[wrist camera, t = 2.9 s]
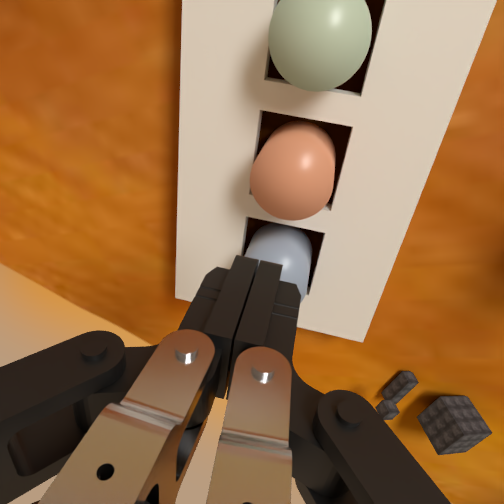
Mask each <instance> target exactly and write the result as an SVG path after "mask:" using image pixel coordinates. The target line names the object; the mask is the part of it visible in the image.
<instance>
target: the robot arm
mask: <svg viewBox="0 0 504 504" xmlns="http://www.w3.org/2000/svg"><path fill="white" fill-rule="evenodd" d="M258 265H259V266H258ZM282 267H283V265H282V264H277V263H273V262H268V261H264V260H260V263H259V260H258V259H254V258H249V257H245V256H240V255H236V257H235V259H234V261H233V263H232V266H231V268H230V269H226V268H221V267H216V268H214V269H213V270H211V271H210V272H209V273H207V274H206V275H205V277H204V279H203V281H202V283H201V285H200V288H199V289H198V291H197V293H196V295H195V297H194V299H193V301H192V303H191V305H190V307H189V309H188V311H187V313H186V314H185V316H184V318H183V320H182V322H181V324H180V326H179V328H178V330H177V331H175V332H172V333H170V334H169V335H167V336H166V337H165V338H163V340H162V341H161V342H160V344H158V345H154V346H147V347H125V346H124V342H123V341H122V339H121V338H120V337H119V336H117V335H116V334H114V333H112V332H108V331H91V332H87V333H84V334H81V335H79V336H76V337H74V338H71V339H69V340H66V341H64V342H62V343H59V344H57V345H54V346H52V347H49V348H47V349H44V350H42V351H39V352H37V353H34V354H32V355H29V356H27V357H24V358H22V359H20V360H17V361H15V362H12V363H10V364H7V365H5V366H2V367H0V504H7V503H9V502H11V501H13V500H14V499H16V498H18V497H19V496H21V495H23V494H24V493H26V492H28V491H29V490H31V489H33V488H34V487H36V486H38V485H40V484H41V483H43V482H45V481H46V480H48V479H50V478H51V477H53V476H55V475H57V474H58V473H59V474H58V475H57V477H56V478H55V479H54V481H53V482H52V484H51V485H50V487H49V488H48V490H47V491H46V493H45V494H44V495H43V497H42V498H41V500H39V501H37V502H34V503H32V504H175V502H176V498H177V494H178V491H179V488H180V486H181V483H182V481H183V478H184V476H185V474H186V471H187V469H188V467H189V464H190V462H191V459H192V457H193V454H194V452H195V450H196V447H197V445H198V443H199V440H200V438H201V436H202V433H203V431H204V428H205V426H206V423H207V420H208V415H209V413H210V411H211V408H212V405H213V401H214V399H215V397H218V398H222V399H224V396H225V393H226V390H227V387H228V390H227V397H226V399H227V400H228V403H227V407H226V412H225V417H224V422H223V427H222V432H221V435H220V438H219V442H218V447H217V452H216V457H215V462H214V467H213V471H212V476H211V482H210V486H209V491H208V496H207V501H206V504H291V478H292V477H293V478H295V482H296V485H297V488H298V490H299V492H300V494H301V496H302V497H303V499H304V501H305V503H306V504H451V503H450V502H449V501H448V499H447V498H446V497H445V496H444V494H443V493H442V492H441V491H440V489H439V488H438V487H437V486H436V484H435V483H434V482H433V481H432V480H431V478H430V477H429V476H428V475H427V473H426V472H425V471H424V470H423V468H422V467H421V466H420V465H419V463H418V462H417V461H416V460H415V459H414V457H413V456H412V455H411V454H410V452H409V451H408V450H407V449H406V447H405V446H404V445H403V444H402V442H401V441H400V440H399V439H398V438H397V436H396V435H395V434H394V433H393V431H392V430H391V429H390V428H389V426H388V425H387V424H386V423H385V421H384V420H383V419H382V418H381V416H380V415H379V414H378V413H377V412H376V410H375V409H374V408H373V407H372V405H371V404H370V403H369V402H368V401H367V400H365V399H364V398H363V397H361V396H360V395H358V394H356V393H353V392H350V391H346V390H334V391H330V392H328V393H326V394H323V393H321V392H319V391H318V390H316V389H314V388H312V387H311V386H309V385H307V384H306V383H305V382H304V381H303V380H302V379H301V378H300V377H299V376H298V375H297V373H296V371H295V369H294V367H293V363H292V355H293V349H294V342H295V335H296V328H297V321H298V315H299V308H300V301H301V294H300V292H299V289H298V287H297V285H296V284H294V283H290V282H285V281H281V280H280V277H281V272H282Z"/></svg>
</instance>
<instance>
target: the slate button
mask: <svg viewBox="0 0 504 504" xmlns="http://www.w3.org/2000/svg"><path fill="white" fill-rule="evenodd" d="M245 257H249V258H254V259H258V260H259V263H260V260H264V261H268V262H273V263H277V264H282V265H283V267H282V272H281V277H280V280H281V281H285V282H290V283H294V284H296V285H297V287H298V289H299V292H300V294H301V301H300V303H301V302H302V301H303V299H304V297H305V295H306V292H307V285H308V279H309V272H310V265H311V258H312V245H311V242H310V240H309V238H308V236H307V235H306V234H305V233H304V232H303V231H302V230H301V229H299V228H298V227H294V226H290V225H285V224H280V223H275V222H273V223H269V224H266V225H264V226H262V227H261V228H259V229H258V230H257V231H256V232H255V234H254V235H253V237H252V239H251V242H250V244H249V247H248V249H247V252H246V254H245ZM258 266H259V265H258Z"/></svg>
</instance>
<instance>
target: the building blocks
mask: <svg viewBox="0 0 504 504" xmlns="http://www.w3.org/2000/svg"><path fill="white" fill-rule="evenodd" d="M418 383H419V382H418V381H417V379H416V377H415V376H414V374H413V373H412V372H410V371H402V372H401V373H400V374H399V375H398V376H397V377H396V378H395V379H394V380H393V381H392V382H391V383H390V384H389V385H388V386H387V387H386V388H385V389H384V390H383V391H382V392H381V393H382V395H383V397H384V399H385V400H382V401H381V402H380V403H379V404H378V405H377V406H376V407H375V408H376V410H377V412H378V414H379V415H380V416H381V418H382V419H383V420H392V419H393V418H394V417H395V416H396V415H398V414H399V413H400V412H399V410H398V408H397V406H396V405H395V404H397V403H398V402H399V401H400V400H401V399H402V398H403V397H404V396H405V395H406V394H407V393H408V392H409V391H410V390H411V389H412V388H414V387H415V386H416V385H417V384H418ZM417 418H418V420H419V422H420V424H421V426H422V427H423V429H424V431H425V433H426V435H427V436H428V438H429V440H430V442H431V444H432V445H433V447H434V449H435V451H436V452H437V454H438V455H444V454H453V453H462V452H466V451H468V450H469V449H471V448H472V447H473V446H475V445H476V444H478V443H479V442H481V441H482V440H483V439H485V438H486V437H488V436H489V435H490V434H492V432H491V430H490V429H489V427H488V426H487V424H486V423H485V421H484V420H483V418H482V417H481V416H480V414H479V413H478V411H477V410H476V408H475V407H474V405H473V404H472V402H471V401H470V399H469V398H468V397H467V396H440V397H439V398H438V399H437V400H435V401H434V402H433V403H432V404H431V405H430V406H429V407H427V408H426V409H425V410H424V411H423V412H422V413H421V414H419V415H418V416H417Z"/></svg>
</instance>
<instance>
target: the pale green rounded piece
mask: <svg viewBox="0 0 504 504" xmlns="http://www.w3.org/2000/svg"><path fill="white" fill-rule="evenodd" d="M371 35H372V23H371V17H370V13H369V9H368V6H367V4H366V2H365V0H280V1H279V3H278V4H277V6H276V8H275V10H274V12H273V15H272V18H271V21H270V26H269V34H268V42H269V50H270V54H271V58H272V60H273V63H274V65H275V67H276V68H277V70H278V72H279V73H280V74H281V76H282V77H283V78H284V79H285V80H286V81H288V82H289V83H290V84H292V85H294V86H295V87H297V88H300V89H302V90H306V91H313V92H319V91H326V90H330V89H333V88H335V87H338V86H340V85H341V84H343V83H345V82H346V81H347V80H348V79H350V78H351V77H352V76H353V75H354V74H355V73H356V72H357V70H358V69H359V68H360V66H361V65H362V63H363V61H364V59H365V57H366V55H367V53H368V50H369V46H370V42H371Z"/></svg>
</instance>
